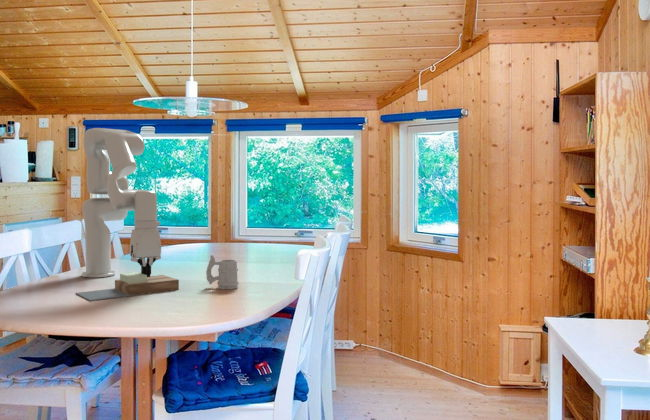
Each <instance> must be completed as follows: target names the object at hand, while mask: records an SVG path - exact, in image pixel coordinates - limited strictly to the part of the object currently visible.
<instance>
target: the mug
mask: <svg viewBox="0 0 650 420" xmlns="http://www.w3.org/2000/svg"><path fill="white" fill-rule="evenodd" d="M214 266H218V269H217V272H218V275H215V276H213V275H212V268H213V267H214ZM238 271H239V269H238V261H237V260H236V259H221V260H219V261H216V258H215V256H214V255H212V254H210V259H209V262H208V265H207V267H206V270H205V272H206V280H207V282H208V284H209V285H212V284H213V283H214V282H216V281H217V283H216V284H217V286H218V287H217V288H218V289H219V290H234V289H238V288H239V283H240V282H239V280H238Z"/></svg>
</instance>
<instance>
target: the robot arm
mask: <svg viewBox="0 0 650 420" xmlns="http://www.w3.org/2000/svg"><path fill="white" fill-rule="evenodd" d="M82 138H83V139H82V141H83V143H82V144H83V149H84V150H83V151H84V153H85V157H86V189H87V192H89V194H92V195H108V197H92V198H91V197H90V198H88V199H86V200H84V201H83V204H82V205H81V207H82V208H81V212H82V216H83V217H82V218H83V221H84V236H85V237H84V238H85V242H84V243H85V271H84V272H81V277H83V278H92V279H93V278H95V279H96V278H107V277H112V276H115V274H116V272H115V271H114V270H112V266H111V265H112V262H111V261H112V260H111V258H112V257H111V254H112V253H111V251H112V250H111V249H112V248H111V247H112V245H111V231H110V228H109V227H108V225H106V223H105V222H115V221H122V220H125V219H126V218H127V216H128V212H129V211H134V229H132V230H131V233H130V242H129V256H130V261H131V262H134V263H137V264H138V265H139V266H140V267H141V269H140V273H142V274H145V275H147V277H150V276H151V275H152V266H153V264H154V263H155V262H156V261H158V260H161V258H162V241H161V233H160V229H158V226H161V221H158V208H157V207H158V205H157V204H158V202H157V200H158V196H157V193H156V191H154V190H146V189H129V180H128V177H129V175H131V174H132V173H134V172H135V171H136V169H137V162H136V160H135V157H134V156H141V155H142V154H143V153H144V151H145V141H144V139H143V137H142V136H141V135H140V134H138V133H136V132H134V131H133V132H132V131H130V130H127V129H118V128H117V129H115V128H105V127H102V128H101V127H93V128H89V129H87V130H86V131H85V132H84V134H83V137H82ZM110 164H111V165H110ZM110 166H111V167H112V168H110ZM110 169H112V170H110Z"/></svg>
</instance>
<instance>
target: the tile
mask: <svg viewBox="0 0 650 420" xmlns="http://www.w3.org/2000/svg"><path fill="white" fill-rule="evenodd" d="M119 280H120V281H123V282H125V283H128V284H136V283H145V282H147V275H145V274H142V273H141V272H138V271H133V272H123V273H119Z"/></svg>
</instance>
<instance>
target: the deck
mask: <svg viewBox="0 0 650 420" xmlns="http://www.w3.org/2000/svg"><path fill="white" fill-rule="evenodd" d="M179 282H180V281H179V279H177V278H174V277H171V276H168V275H164V274H159V275H152V276H151V275H150V277H147V282H145V283H136V284H128V283H125V282H123V281H120V279H115V280H114V288H115V289H117V290H119V291H122V292H124V293H127V294H129V295H130V294H133V296H137V295H145V294H154V293H161V292H168V291H177V290H180V284H179Z"/></svg>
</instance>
